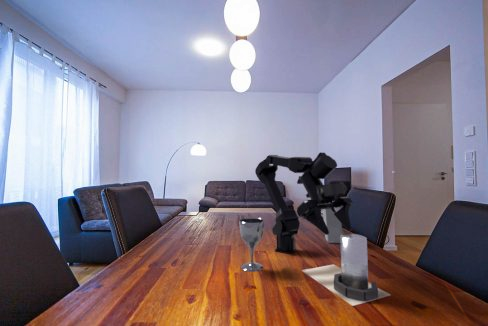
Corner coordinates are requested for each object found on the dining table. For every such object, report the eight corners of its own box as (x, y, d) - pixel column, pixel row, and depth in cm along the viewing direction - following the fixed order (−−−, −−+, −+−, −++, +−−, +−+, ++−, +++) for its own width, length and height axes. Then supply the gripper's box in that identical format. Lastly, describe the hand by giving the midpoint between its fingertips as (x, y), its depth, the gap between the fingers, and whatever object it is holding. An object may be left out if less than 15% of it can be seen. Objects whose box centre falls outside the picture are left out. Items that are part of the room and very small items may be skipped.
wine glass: (266, 263, 74) (266, 218, 75) (260, 273, 66) (260, 223, 67) (244, 260, 77) (244, 217, 77) (236, 270, 69) (235, 222, 70)
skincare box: (343, 244, 93) (342, 206, 94) (325, 243, 95) (324, 206, 96) (339, 238, 102) (338, 203, 102) (322, 237, 103) (322, 203, 104)
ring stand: (301, 273, 66) (301, 263, 66) (333, 267, 70) (333, 257, 71) (352, 310, 49) (352, 296, 49) (391, 299, 53) (390, 286, 53)
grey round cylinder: (340, 291, 54) (338, 238, 55) (343, 281, 59) (341, 232, 60) (368, 298, 51) (366, 241, 52) (368, 287, 56) (367, 235, 57)
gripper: (305, 172, 63) (333, 223, 54) (350, 172, 72) (380, 215, 62) (287, 194, 71) (309, 241, 62) (329, 191, 79) (354, 232, 70)
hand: (339, 232), depth 64 cm, fingers open, 9 cm apart
